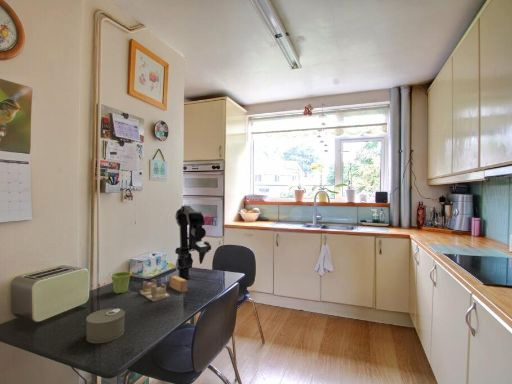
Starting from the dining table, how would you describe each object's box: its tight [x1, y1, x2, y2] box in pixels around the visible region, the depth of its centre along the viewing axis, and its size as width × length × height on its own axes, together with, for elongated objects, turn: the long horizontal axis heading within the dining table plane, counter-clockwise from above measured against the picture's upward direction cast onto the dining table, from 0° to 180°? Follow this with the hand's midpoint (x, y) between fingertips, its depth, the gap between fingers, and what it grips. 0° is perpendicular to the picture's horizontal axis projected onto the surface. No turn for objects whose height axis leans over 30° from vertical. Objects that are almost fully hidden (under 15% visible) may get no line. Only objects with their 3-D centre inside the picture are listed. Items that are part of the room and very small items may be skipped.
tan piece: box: [139, 278, 170, 302], centre depth 133 cm, size 15×8×6 cm, turn 46°
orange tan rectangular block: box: [168, 274, 188, 294], centre depth 142 cm, size 13×3×6 cm, turn 46°
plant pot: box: [110, 271, 132, 294], centre depth 137 cm, size 9×9×9 cm
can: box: [85, 307, 126, 344], centre depth 96 cm, size 12×12×7 cm
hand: (193, 265), depth 142 cm, fingers open, 9 cm apart
